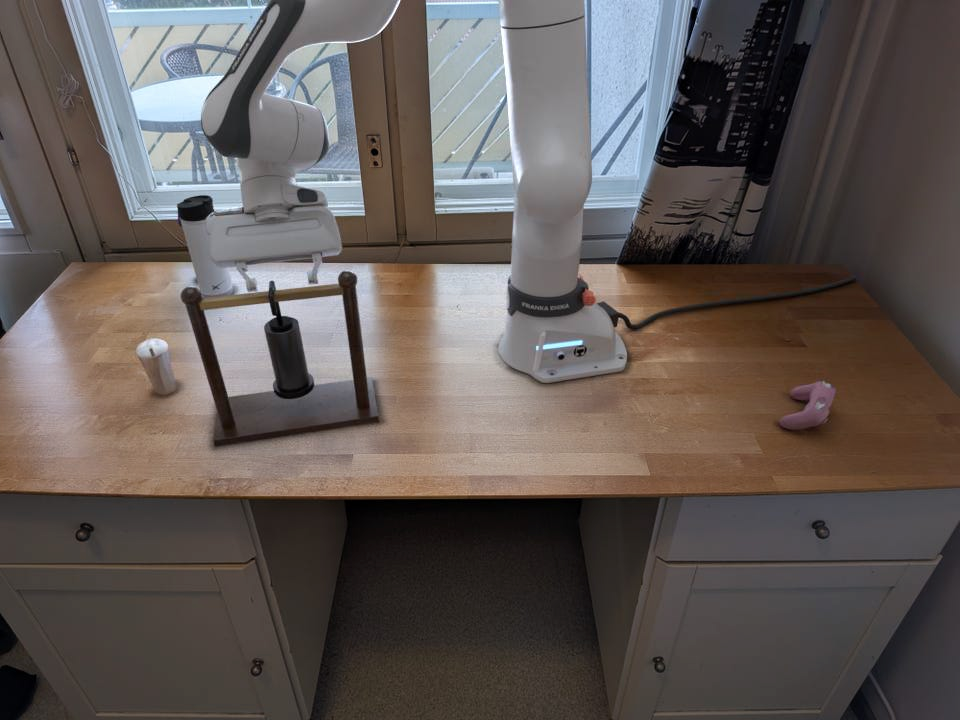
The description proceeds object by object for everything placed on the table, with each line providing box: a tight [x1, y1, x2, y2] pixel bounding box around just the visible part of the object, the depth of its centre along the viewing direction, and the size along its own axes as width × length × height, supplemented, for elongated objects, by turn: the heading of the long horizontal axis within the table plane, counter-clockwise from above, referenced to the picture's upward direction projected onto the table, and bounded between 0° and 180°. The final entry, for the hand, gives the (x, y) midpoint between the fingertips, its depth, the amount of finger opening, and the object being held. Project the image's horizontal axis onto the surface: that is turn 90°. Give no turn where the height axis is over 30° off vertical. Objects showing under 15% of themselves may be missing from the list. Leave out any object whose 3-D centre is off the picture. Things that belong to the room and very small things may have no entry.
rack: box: [180, 269, 380, 447], centre depth 94 cm, size 10×24×25 cm, turn 104°
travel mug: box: [176, 194, 235, 298], centre depth 125 cm, size 6×7×20 cm
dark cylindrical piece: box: [263, 280, 315, 399], centre depth 92 cm, size 8×6×18 cm
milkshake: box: [135, 337, 178, 396], centre depth 102 cm, size 4×5×10 cm
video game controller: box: [779, 380, 837, 431], centre depth 100 cm, size 10×5×7 cm, turn 148°
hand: (283, 287), depth 103 cm, fingers open, 8 cm apart
